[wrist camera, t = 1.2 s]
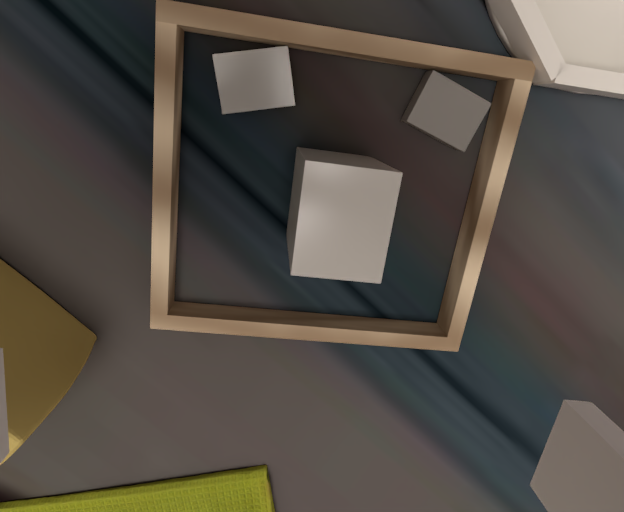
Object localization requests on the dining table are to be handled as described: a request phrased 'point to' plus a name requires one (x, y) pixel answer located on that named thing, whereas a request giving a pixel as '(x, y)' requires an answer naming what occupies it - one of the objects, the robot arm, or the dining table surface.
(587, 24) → the bowl
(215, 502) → the dish towel
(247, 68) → the light grey block
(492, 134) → the wooden frame
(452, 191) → the dining table surface
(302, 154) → the pale grey block
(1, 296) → the cheese
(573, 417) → the robot arm
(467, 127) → the grey rectangular block
